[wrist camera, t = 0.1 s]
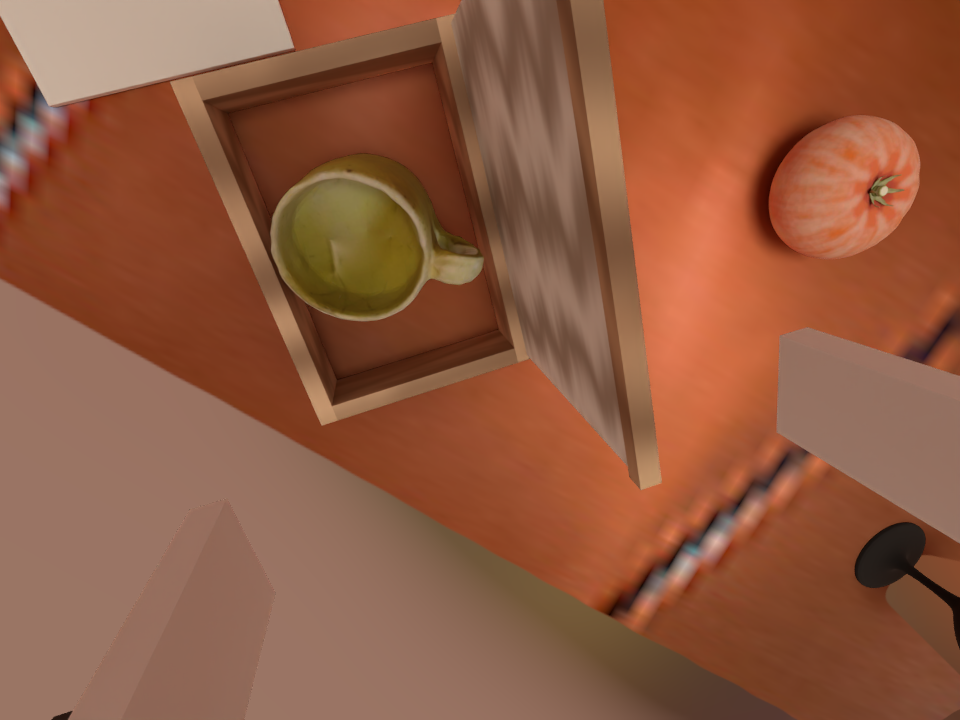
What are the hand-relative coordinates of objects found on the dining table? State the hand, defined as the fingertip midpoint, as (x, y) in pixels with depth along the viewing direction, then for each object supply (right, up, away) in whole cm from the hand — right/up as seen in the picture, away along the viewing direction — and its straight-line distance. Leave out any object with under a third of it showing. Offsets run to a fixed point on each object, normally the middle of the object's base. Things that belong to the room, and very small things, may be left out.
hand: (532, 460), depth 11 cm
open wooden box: (-9, +12, +24) cm, 28 cm away
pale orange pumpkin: (+27, +17, +31) cm, 44 cm away
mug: (-9, +12, +25) cm, 29 cm away
